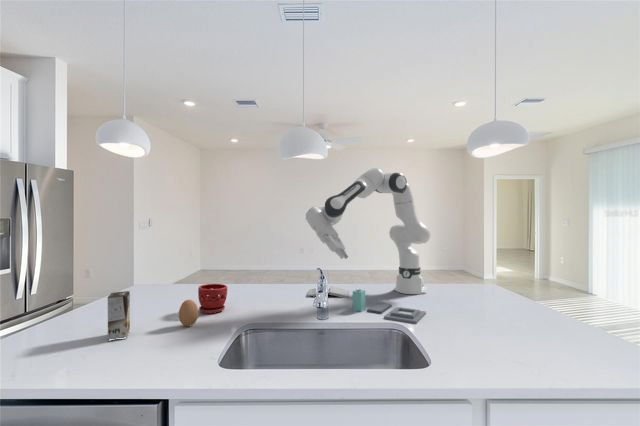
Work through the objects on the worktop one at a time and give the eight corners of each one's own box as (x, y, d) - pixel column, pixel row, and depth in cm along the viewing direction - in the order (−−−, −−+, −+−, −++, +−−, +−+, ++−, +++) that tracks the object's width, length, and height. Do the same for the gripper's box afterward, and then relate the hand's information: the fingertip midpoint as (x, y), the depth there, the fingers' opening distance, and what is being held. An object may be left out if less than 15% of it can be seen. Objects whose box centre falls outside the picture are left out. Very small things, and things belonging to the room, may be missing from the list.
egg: (174, 328, 139) (174, 301, 139) (187, 322, 147) (187, 296, 147) (189, 330, 137) (189, 302, 137) (202, 324, 144) (202, 298, 144)
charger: (356, 308, 167) (356, 288, 167) (365, 309, 164) (365, 289, 164) (352, 310, 163) (352, 290, 163) (361, 311, 160) (361, 291, 160)
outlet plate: (395, 309, 164) (395, 304, 164) (425, 313, 156) (425, 309, 156) (384, 318, 150) (383, 313, 150) (416, 323, 143) (416, 318, 143)
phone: (367, 311, 160) (367, 309, 160) (378, 304, 172) (378, 302, 172) (381, 313, 157) (381, 311, 157) (391, 306, 169) (391, 304, 169)
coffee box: (127, 339, 127) (127, 295, 127) (107, 341, 125) (106, 297, 125) (130, 331, 136) (129, 290, 136) (111, 333, 133) (111, 292, 133)
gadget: (348, 292, 202) (348, 286, 202) (348, 298, 187) (348, 292, 187) (309, 292, 203) (309, 285, 203) (307, 298, 188) (306, 291, 188)
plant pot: (205, 317, 154) (205, 290, 154) (194, 310, 164) (193, 285, 164) (232, 311, 162) (232, 286, 162) (219, 305, 172) (219, 281, 172)
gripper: (328, 229, 160) (345, 253, 156) (337, 233, 179) (353, 254, 176) (317, 238, 161) (335, 261, 157) (328, 240, 180) (344, 261, 176)
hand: (345, 257), depth 166 cm, fingers open, 8 cm apart
